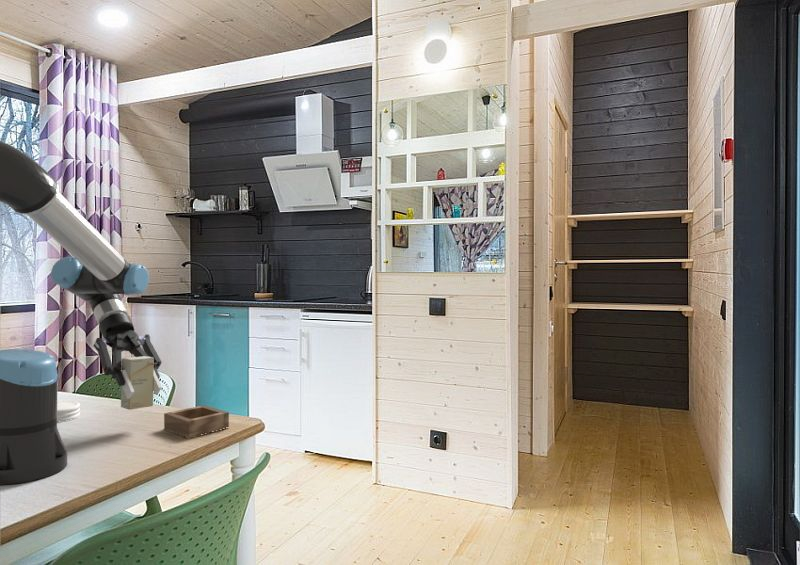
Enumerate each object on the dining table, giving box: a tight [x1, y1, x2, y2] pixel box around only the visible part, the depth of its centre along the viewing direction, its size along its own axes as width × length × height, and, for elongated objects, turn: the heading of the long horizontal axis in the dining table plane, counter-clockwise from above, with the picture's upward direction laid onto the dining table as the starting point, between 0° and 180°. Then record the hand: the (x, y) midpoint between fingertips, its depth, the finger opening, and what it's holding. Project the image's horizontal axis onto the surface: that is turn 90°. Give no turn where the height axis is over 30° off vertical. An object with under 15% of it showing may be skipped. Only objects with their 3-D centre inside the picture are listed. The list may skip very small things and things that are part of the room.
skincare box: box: [120, 356, 154, 410], centre depth 140 cm, size 6×4×12 cm
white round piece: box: [57, 400, 81, 423], centre depth 150 cm, size 10×10×4 cm
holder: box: [163, 404, 230, 439], centre depth 142 cm, size 11×11×4 cm
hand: (144, 392), depth 138 cm, fingers closed on skincare box, 6 cm apart
